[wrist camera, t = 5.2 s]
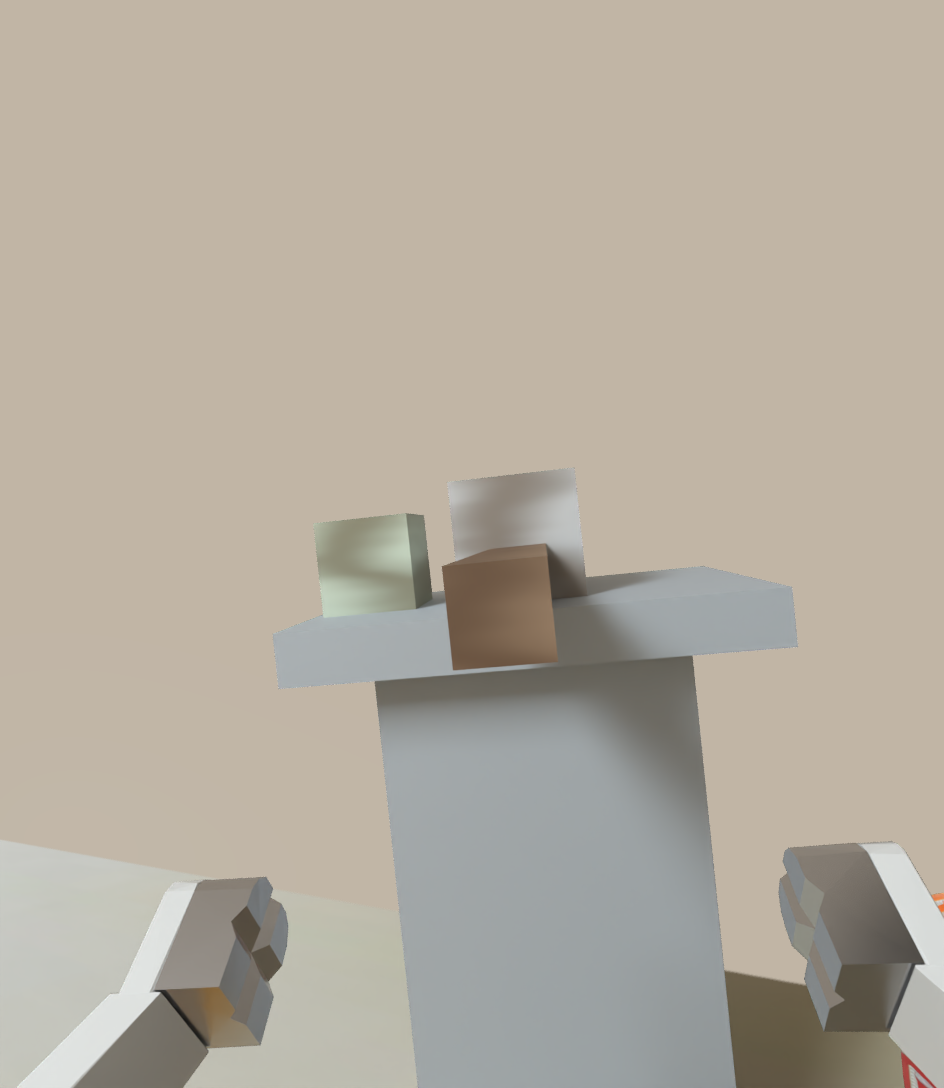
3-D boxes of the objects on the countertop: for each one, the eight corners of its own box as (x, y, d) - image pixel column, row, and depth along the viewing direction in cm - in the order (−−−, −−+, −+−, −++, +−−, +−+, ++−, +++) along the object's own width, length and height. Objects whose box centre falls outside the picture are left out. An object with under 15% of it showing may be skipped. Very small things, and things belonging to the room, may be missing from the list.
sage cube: (432, 598, 31) (423, 515, 31) (416, 609, 27) (405, 513, 27) (351, 606, 31) (342, 524, 31) (323, 617, 27) (313, 523, 27)
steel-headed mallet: (577, 580, 33) (567, 482, 33) (627, 656, 13) (602, 411, 13) (480, 589, 34) (470, 493, 34) (388, 675, 14) (362, 441, 14)
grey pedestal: (753, 1063, 34) (703, 566, 33) (868, 1357, 22) (791, 586, 21) (414, 1067, 36) (364, 598, 35) (349, 1338, 24) (272, 634, 23)
